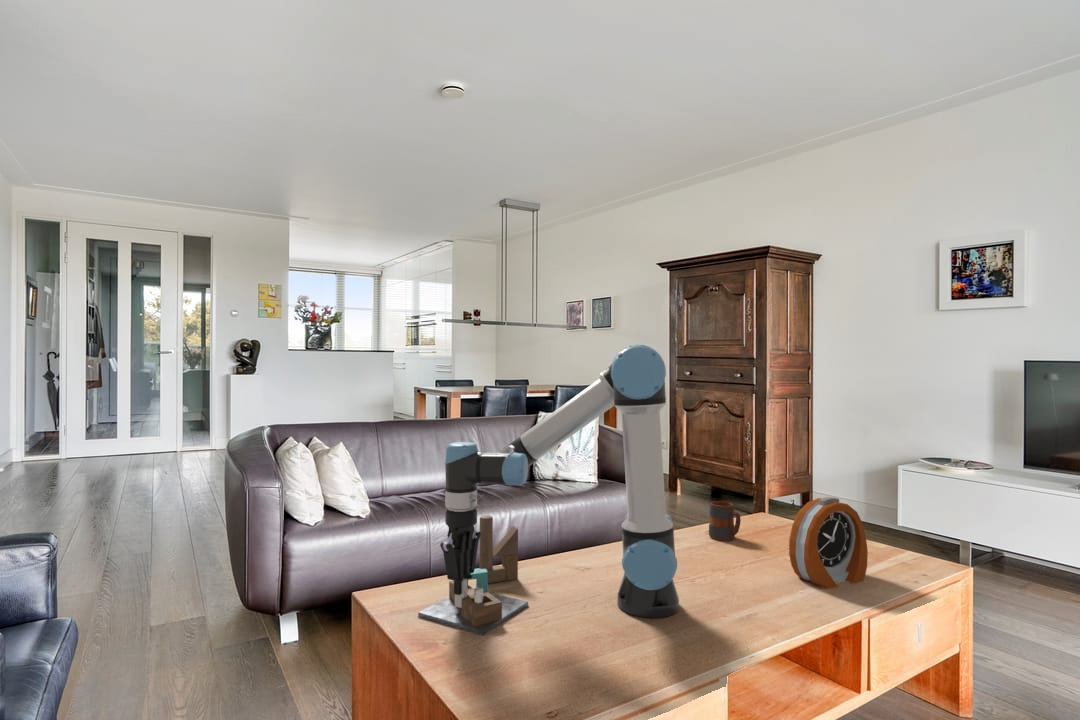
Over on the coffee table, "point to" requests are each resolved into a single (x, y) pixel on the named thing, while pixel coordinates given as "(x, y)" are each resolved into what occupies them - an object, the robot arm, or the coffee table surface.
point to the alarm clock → (828, 543)
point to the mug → (723, 521)
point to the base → (453, 617)
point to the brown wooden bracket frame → (498, 552)
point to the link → (478, 607)
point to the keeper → (480, 578)
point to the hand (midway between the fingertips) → (461, 606)
